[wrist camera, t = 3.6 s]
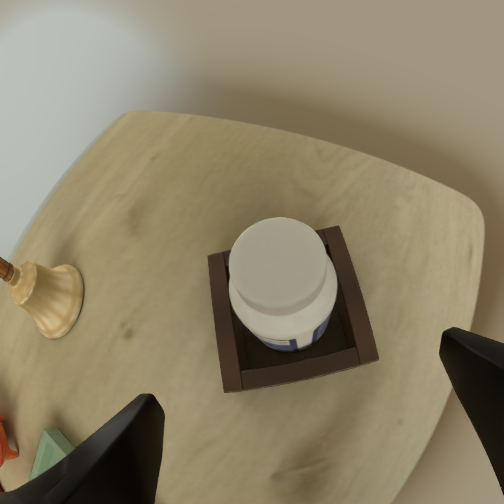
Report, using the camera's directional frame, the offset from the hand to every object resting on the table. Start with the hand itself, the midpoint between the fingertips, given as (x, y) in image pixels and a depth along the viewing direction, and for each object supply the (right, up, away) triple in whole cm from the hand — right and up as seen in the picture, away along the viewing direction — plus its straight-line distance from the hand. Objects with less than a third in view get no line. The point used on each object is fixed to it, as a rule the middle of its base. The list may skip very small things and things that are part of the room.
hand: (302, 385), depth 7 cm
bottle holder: (+1, -1, +12) cm, 13 cm away
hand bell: (-22, -2, +17) cm, 28 cm away
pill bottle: (+1, -1, +13) cm, 13 cm away
